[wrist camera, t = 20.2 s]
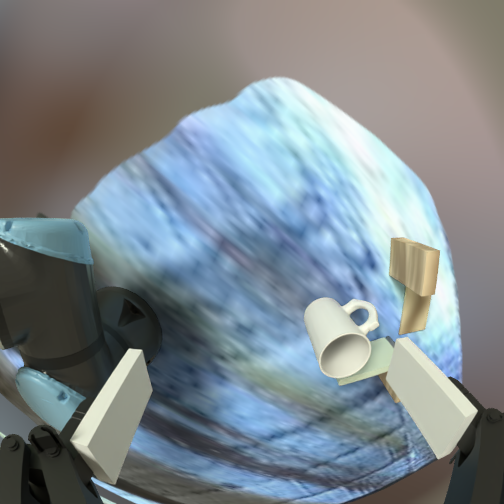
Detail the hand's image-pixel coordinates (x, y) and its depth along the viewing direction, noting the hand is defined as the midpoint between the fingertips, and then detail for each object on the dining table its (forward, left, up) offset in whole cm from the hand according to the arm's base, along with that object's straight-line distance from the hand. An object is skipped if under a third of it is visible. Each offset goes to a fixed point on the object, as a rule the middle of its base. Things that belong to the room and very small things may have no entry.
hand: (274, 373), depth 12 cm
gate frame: (+26, -11, -27) cm, 39 cm away
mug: (+11, -10, -28) cm, 31 cm away
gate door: (+17, -18, -27) cm, 36 cm away
